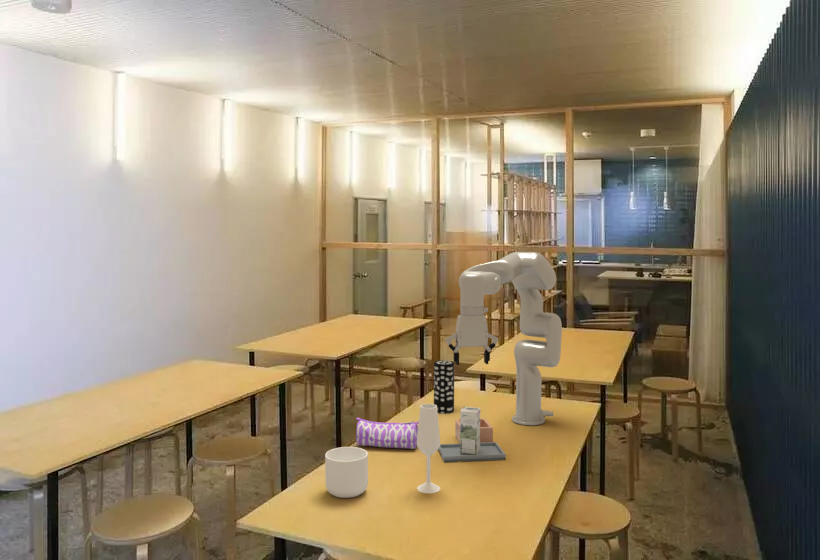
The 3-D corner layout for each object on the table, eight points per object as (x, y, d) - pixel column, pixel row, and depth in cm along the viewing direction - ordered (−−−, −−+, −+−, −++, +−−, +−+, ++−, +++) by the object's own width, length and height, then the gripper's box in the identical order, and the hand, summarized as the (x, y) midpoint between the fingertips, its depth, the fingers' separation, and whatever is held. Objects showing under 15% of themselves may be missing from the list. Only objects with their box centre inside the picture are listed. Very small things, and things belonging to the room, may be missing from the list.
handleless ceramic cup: (340, 505, 172) (340, 464, 171) (317, 491, 181) (317, 452, 180) (376, 493, 180) (376, 454, 179) (352, 481, 189) (352, 444, 188)
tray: (496, 447, 218) (496, 442, 218) (505, 459, 206) (505, 454, 206) (438, 449, 216) (438, 444, 215) (444, 462, 204) (444, 456, 204)
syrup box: (480, 450, 213) (480, 407, 212) (476, 455, 207) (477, 411, 206) (463, 448, 214) (463, 405, 213) (459, 454, 209) (459, 410, 208)
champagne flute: (443, 491, 181) (443, 408, 179) (420, 494, 179) (420, 410, 177) (435, 482, 187) (436, 402, 185) (413, 485, 185) (413, 403, 183)
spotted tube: (452, 414, 257) (452, 365, 256) (432, 413, 259) (432, 364, 258) (455, 408, 266) (455, 360, 264) (435, 407, 267) (435, 360, 266)
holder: (485, 434, 231) (485, 418, 231) (492, 444, 220) (492, 427, 220) (455, 435, 230) (455, 419, 229) (461, 446, 219) (461, 428, 219)
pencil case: (421, 443, 222) (421, 416, 222) (419, 452, 213) (419, 424, 212) (358, 441, 225) (358, 414, 224) (353, 450, 215) (353, 422, 215)
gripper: (495, 309, 212) (494, 360, 213) (443, 310, 210) (443, 362, 211) (501, 312, 205) (500, 365, 206) (447, 313, 203) (447, 366, 204)
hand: (471, 363), depth 209 cm, fingers open, 9 cm apart
